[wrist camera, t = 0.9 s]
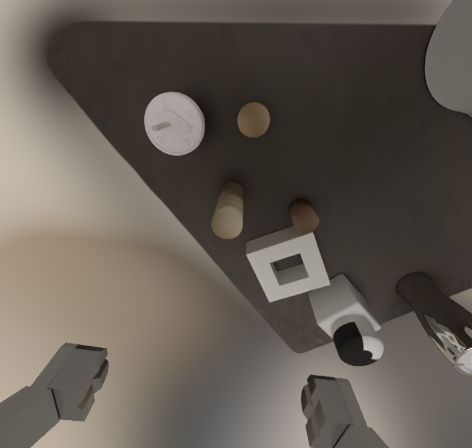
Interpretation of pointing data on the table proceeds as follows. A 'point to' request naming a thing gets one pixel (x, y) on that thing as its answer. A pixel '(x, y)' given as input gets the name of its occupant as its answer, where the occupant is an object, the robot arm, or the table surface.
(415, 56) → the table surface
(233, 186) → the maple pin
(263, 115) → the oak pin
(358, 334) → the container
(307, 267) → the socket block
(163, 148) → the smoothie
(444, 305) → the beer glass
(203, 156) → the table surface
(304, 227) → the walnut pin
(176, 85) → the table surface
